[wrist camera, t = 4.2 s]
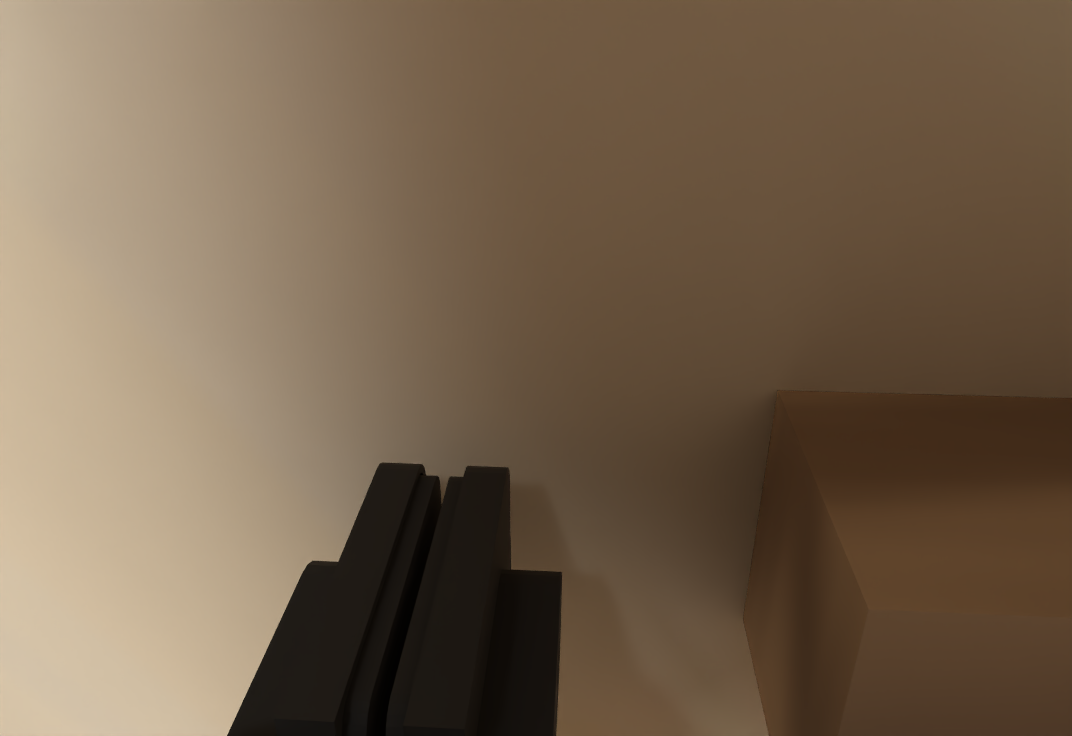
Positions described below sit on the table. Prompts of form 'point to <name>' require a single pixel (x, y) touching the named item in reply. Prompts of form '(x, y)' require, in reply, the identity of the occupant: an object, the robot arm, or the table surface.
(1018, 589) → the t block
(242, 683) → the table surface
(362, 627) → the robot arm
